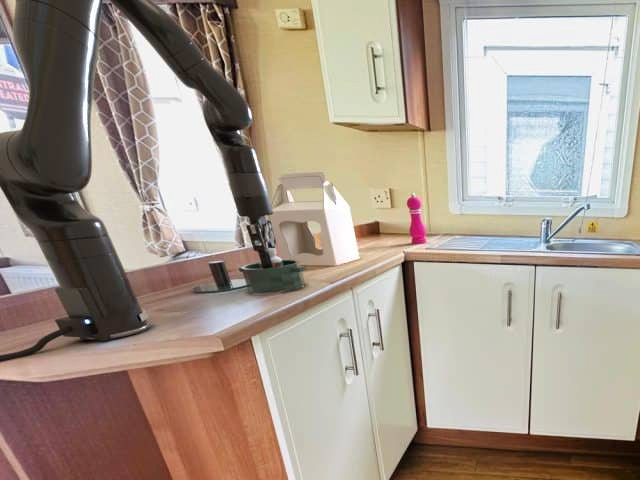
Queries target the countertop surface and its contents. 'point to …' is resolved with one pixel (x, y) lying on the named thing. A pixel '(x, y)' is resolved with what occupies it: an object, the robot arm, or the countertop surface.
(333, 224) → the gable box
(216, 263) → the pot lid
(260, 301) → the countertop surface
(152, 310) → the countertop surface
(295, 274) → the pot
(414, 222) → the pepper mill
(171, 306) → the countertop surface
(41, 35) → the robot arm
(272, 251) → the pill bottle
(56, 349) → the countertop surface
